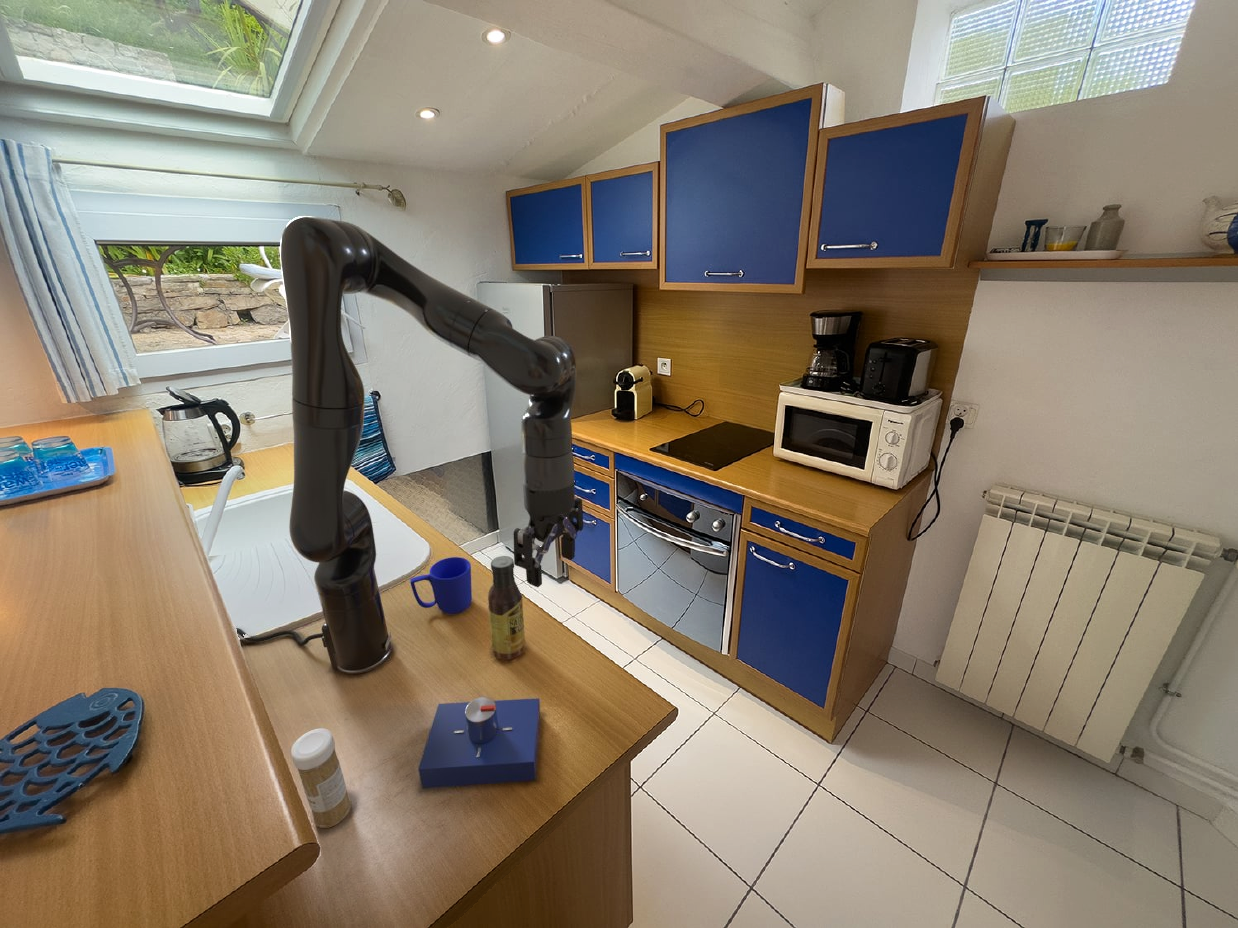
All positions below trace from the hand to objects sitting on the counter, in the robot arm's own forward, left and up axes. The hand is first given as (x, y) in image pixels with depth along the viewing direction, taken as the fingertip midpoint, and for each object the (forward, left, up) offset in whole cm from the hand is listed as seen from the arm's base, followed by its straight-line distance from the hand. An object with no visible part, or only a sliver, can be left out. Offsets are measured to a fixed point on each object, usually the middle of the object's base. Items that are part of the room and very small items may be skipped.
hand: (552, 570), depth 78 cm
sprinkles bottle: (-30, -20, -24) cm, 43 cm away
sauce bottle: (-10, +9, -24) cm, 28 cm away
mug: (-25, +22, -24) cm, 41 cm away
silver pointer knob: (-11, -12, -20) cm, 26 cm away
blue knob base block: (-11, -12, -24) cm, 29 cm away
